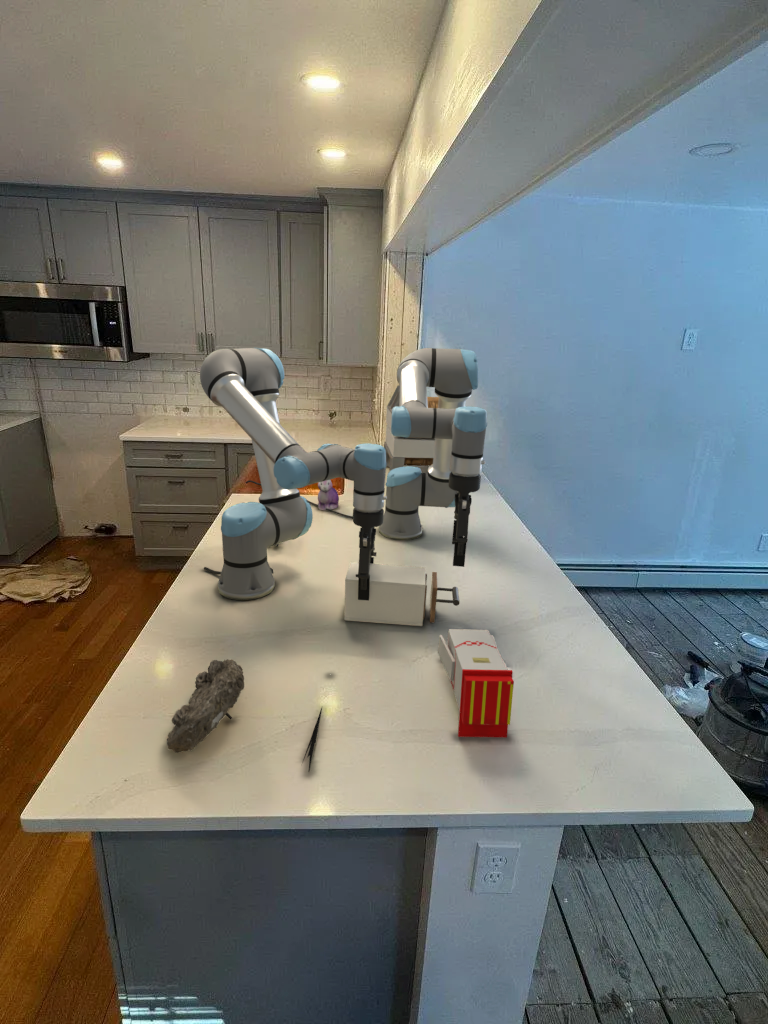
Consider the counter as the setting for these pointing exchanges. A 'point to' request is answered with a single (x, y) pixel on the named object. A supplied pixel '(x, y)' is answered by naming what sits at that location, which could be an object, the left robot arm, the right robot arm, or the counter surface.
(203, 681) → the fossil
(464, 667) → the toy
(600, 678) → the counter surface
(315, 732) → the feather
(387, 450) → the transformer
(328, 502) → the figurine
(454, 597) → the drawer
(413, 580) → the cabinet
